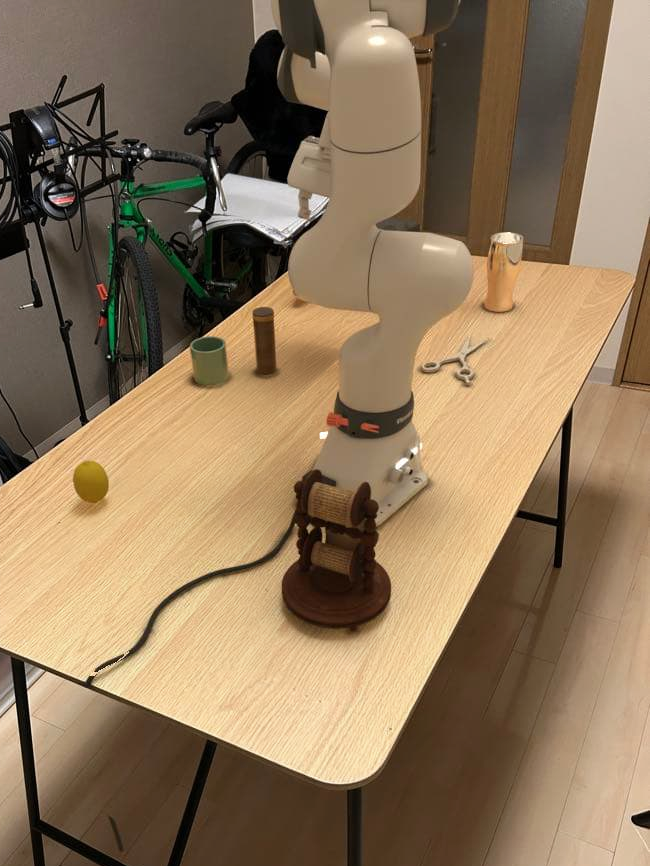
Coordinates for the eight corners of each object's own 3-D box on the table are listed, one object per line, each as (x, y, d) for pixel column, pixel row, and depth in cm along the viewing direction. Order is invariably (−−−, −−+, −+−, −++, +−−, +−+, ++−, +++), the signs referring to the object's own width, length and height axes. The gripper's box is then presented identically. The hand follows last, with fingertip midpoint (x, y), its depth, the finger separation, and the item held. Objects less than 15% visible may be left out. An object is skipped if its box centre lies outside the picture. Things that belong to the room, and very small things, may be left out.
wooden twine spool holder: (407, 581, 114) (415, 461, 101) (363, 651, 105) (366, 529, 92) (312, 551, 120) (308, 435, 108) (262, 615, 111) (252, 496, 98)
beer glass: (480, 312, 178) (488, 243, 169) (483, 299, 183) (490, 231, 174) (514, 313, 176) (523, 244, 167) (515, 300, 181) (525, 232, 172)
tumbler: (216, 390, 160) (213, 355, 155) (187, 383, 163) (182, 348, 158) (235, 374, 164) (232, 339, 160) (206, 368, 168) (202, 333, 163)
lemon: (96, 488, 137) (87, 448, 132) (119, 499, 134) (110, 458, 129) (71, 505, 134) (61, 464, 129) (94, 516, 131) (84, 475, 126)
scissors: (416, 370, 158) (456, 328, 171) (416, 374, 159) (456, 331, 171) (468, 382, 153) (506, 338, 166) (468, 386, 154) (506, 341, 166)
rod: (270, 379, 162) (267, 317, 154) (252, 375, 164) (248, 313, 155) (280, 370, 164) (277, 308, 156) (263, 366, 166) (259, 305, 158)
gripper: (292, 129, 148) (271, 208, 154) (375, 148, 136) (349, 233, 141) (315, 138, 153) (293, 215, 158) (398, 157, 140) (371, 240, 145)
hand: (320, 224), depth 149 cm, fingers open, 8 cm apart
